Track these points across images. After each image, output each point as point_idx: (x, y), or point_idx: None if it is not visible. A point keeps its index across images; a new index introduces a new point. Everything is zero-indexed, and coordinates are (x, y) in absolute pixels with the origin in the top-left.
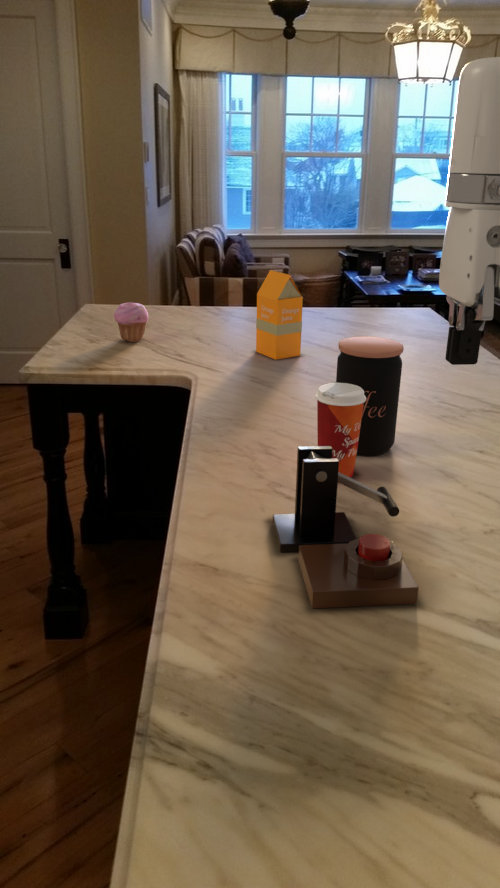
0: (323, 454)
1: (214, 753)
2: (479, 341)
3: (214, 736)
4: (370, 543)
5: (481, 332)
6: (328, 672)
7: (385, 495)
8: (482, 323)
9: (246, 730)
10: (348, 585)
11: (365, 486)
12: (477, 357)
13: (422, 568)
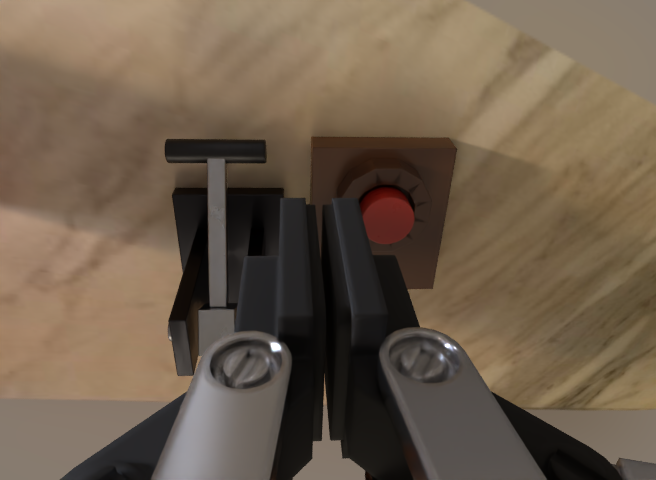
0: (190, 326)
1: (602, 367)
2: (372, 265)
3: (584, 367)
4: (393, 229)
5: (383, 300)
6: (543, 273)
7: (212, 160)
8: (529, 415)
9: (588, 346)
10: (428, 244)
11: (218, 214)
12: (359, 212)
13: (353, 94)
